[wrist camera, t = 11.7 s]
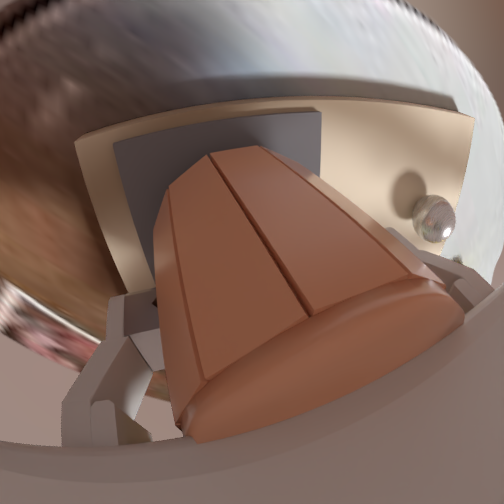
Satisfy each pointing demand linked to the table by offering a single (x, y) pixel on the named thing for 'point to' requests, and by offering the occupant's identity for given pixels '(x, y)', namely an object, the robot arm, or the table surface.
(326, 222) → the terracotta cup
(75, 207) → the table surface
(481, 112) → the table surface
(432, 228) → the steel marble
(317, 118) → the charcoal mat
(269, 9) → the table surface
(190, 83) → the table surface
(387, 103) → the birch board
